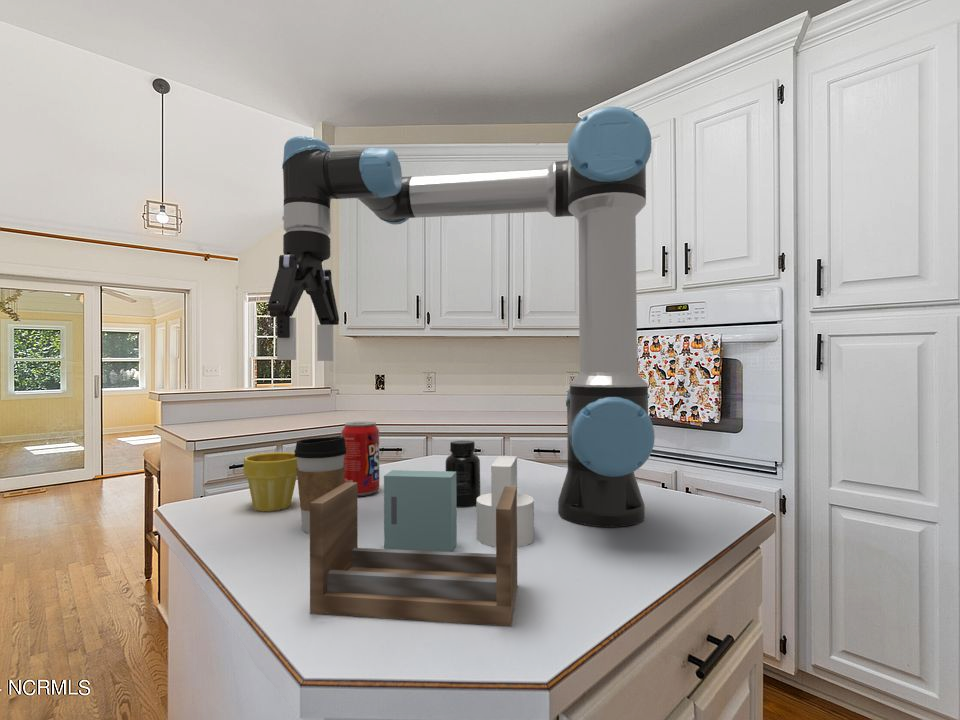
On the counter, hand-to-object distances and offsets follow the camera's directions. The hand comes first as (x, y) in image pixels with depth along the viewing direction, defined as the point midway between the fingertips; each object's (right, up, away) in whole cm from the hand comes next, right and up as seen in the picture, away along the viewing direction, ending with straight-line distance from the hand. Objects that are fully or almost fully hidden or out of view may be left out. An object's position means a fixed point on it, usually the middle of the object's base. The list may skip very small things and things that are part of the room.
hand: (307, 360), depth 85 cm
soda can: (+4, -29, +23) cm, 37 cm away
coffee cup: (+2, -28, 0) cm, 28 cm away
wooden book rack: (+22, -28, -26) cm, 44 cm away
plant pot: (-11, -28, +13) cm, 33 cm away
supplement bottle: (+26, -28, +15) cm, 41 cm away
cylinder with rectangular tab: (+33, -28, -6) cm, 44 cm away
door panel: (+20, -28, -10) cm, 36 cm away
